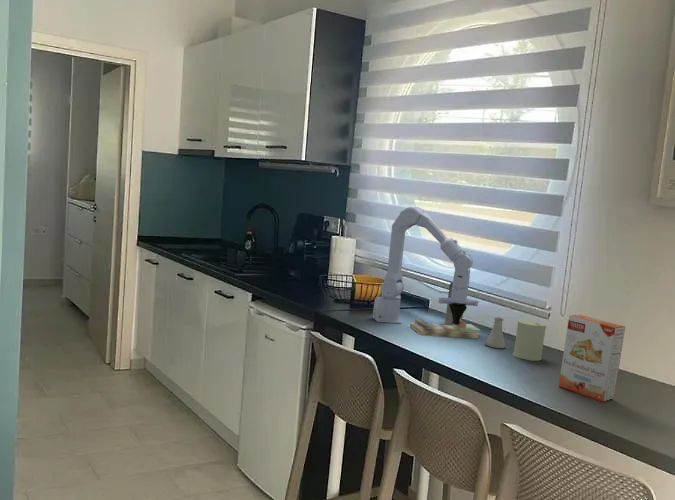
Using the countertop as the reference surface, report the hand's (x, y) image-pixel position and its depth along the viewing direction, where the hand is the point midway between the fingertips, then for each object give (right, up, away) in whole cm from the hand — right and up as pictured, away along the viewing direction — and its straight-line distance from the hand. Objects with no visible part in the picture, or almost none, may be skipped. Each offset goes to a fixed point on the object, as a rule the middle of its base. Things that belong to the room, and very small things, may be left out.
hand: (455, 324), depth 253 cm
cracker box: (+26, -13, -60) cm, 67 cm away
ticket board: (-4, -3, 0) cm, 5 cm away
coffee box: (+2, -2, +15) cm, 15 cm away
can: (+20, -9, -24) cm, 32 cm away
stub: (+4, -2, +1) cm, 5 cm away
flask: (+11, -6, -13) cm, 19 cm away
